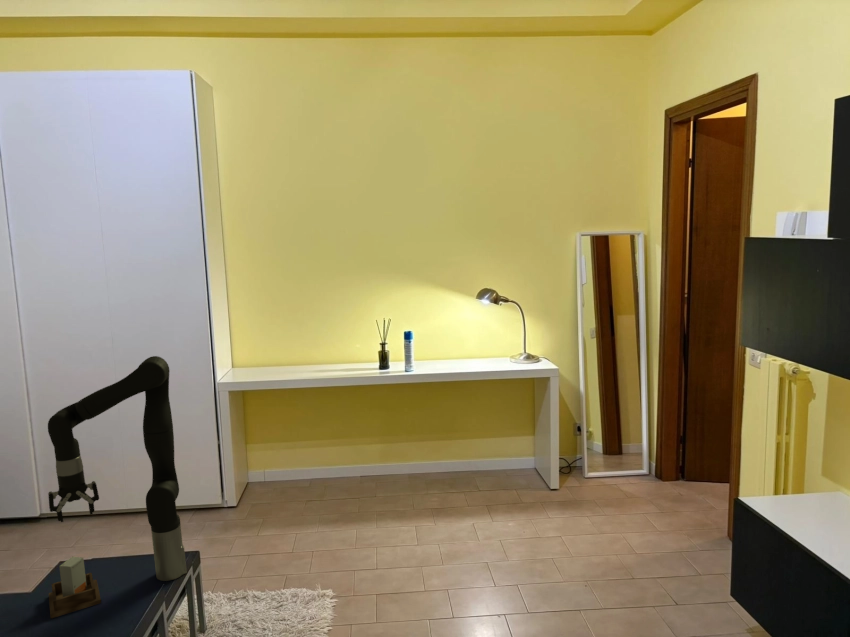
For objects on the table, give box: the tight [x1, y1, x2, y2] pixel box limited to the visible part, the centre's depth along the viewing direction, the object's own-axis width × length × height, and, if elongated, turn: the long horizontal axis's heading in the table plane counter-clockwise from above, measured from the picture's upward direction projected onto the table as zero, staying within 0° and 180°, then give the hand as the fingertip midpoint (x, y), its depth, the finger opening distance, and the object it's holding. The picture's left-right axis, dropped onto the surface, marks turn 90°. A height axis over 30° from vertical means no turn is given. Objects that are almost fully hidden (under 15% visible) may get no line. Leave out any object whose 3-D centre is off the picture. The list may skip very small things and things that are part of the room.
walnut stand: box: [48, 572, 102, 619], centre depth 206 cm, size 14×14×5 cm
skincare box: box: [58, 556, 87, 597], centre depth 206 cm, size 6×4×12 cm
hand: (76, 517), depth 210 cm, fingers open, 8 cm apart
